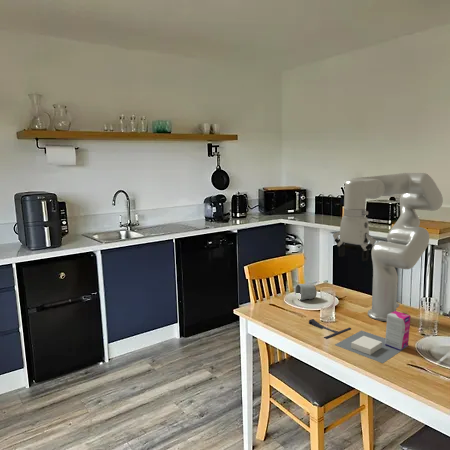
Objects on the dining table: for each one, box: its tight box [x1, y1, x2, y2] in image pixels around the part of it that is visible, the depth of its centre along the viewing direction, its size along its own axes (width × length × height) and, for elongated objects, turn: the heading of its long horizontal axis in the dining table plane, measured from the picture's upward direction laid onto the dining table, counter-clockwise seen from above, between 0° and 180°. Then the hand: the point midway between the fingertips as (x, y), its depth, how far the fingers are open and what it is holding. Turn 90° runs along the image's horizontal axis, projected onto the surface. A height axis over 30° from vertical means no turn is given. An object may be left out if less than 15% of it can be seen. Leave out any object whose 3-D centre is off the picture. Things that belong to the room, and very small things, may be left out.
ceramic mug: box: [294, 283, 317, 301], centre depth 192 cm, size 11×8×8 cm
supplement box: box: [385, 310, 411, 352], centre depth 139 cm, size 6×6×12 cm
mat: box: [334, 329, 409, 364], centre depth 141 cm, size 18×18×1 cm
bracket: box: [308, 318, 352, 340], centre depth 156 cm, size 14×15×3 cm
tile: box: [351, 336, 382, 355], centre depth 139 cm, size 2×7×8 cm
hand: (352, 258), depth 151 cm, fingers open, 9 cm apart
